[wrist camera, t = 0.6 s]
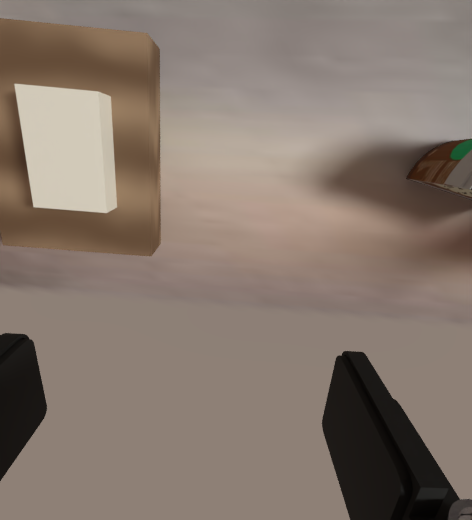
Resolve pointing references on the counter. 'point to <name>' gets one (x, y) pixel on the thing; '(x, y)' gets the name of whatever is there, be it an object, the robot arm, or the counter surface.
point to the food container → (446, 168)
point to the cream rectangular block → (68, 147)
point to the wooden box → (124, 134)
